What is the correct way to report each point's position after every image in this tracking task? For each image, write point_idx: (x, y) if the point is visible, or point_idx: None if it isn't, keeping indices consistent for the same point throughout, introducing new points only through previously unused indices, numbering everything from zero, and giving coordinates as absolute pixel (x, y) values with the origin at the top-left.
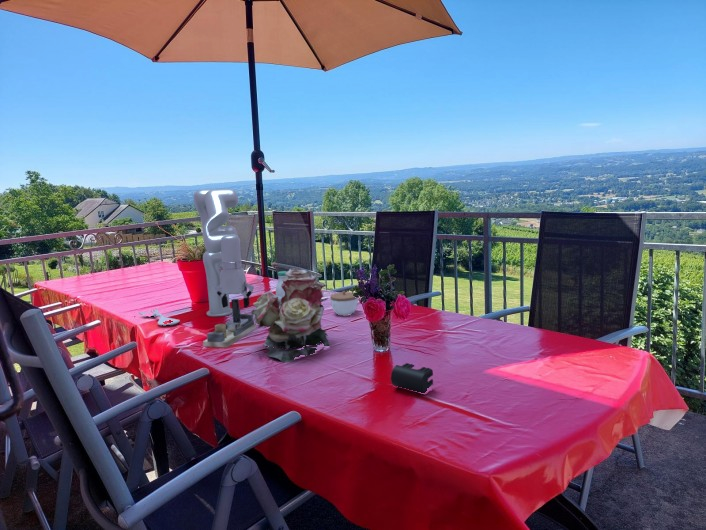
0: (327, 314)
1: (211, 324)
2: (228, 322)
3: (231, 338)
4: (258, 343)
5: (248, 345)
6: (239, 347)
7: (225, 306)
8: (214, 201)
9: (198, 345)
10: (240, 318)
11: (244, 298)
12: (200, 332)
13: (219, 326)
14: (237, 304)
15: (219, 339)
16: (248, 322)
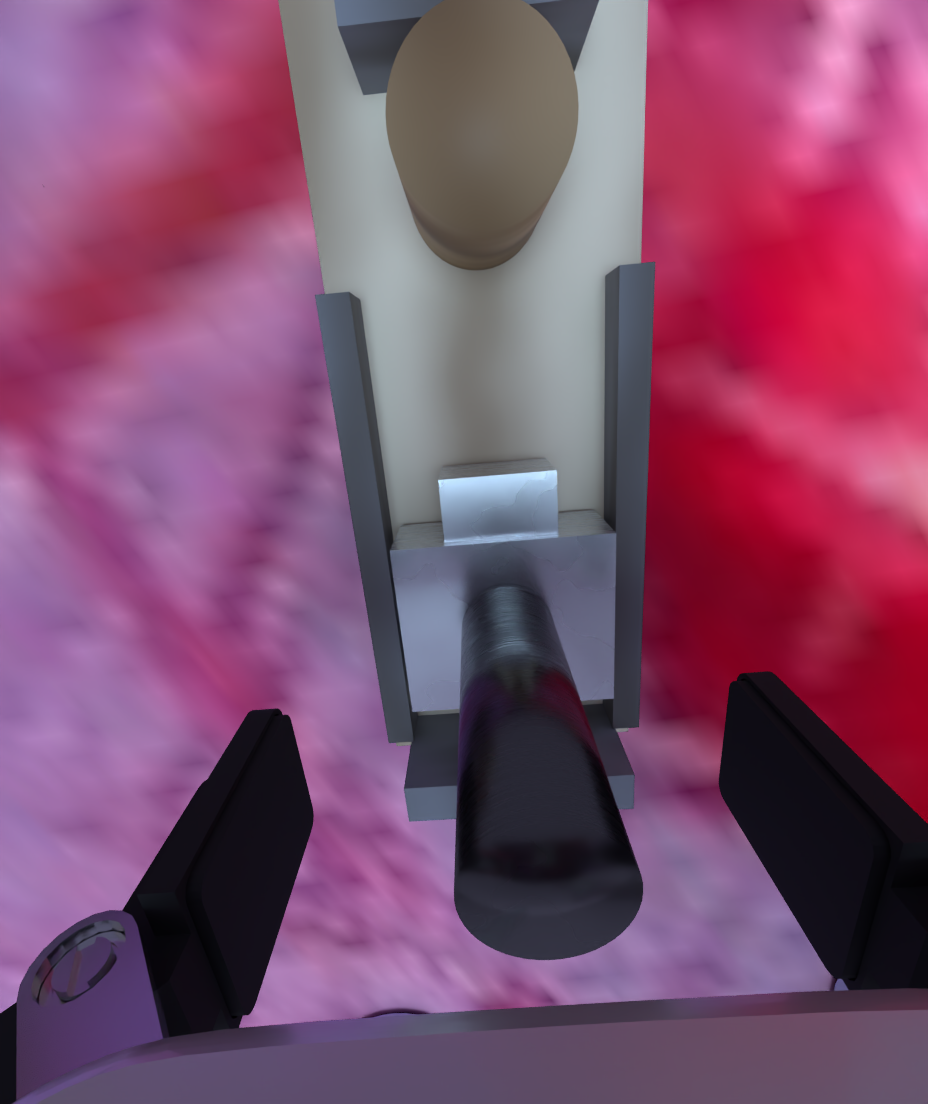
0: None
1: (895, 735)
2: (575, 540)
3: (325, 196)
4: (54, 289)
5: (109, 193)
6: (157, 92)
7: (730, 718)
8: None
9: (714, 35)
10: None
11: (143, 886)
12: (908, 501)
13: (440, 11)
14: (464, 778)
15: None
16: (454, 725)
